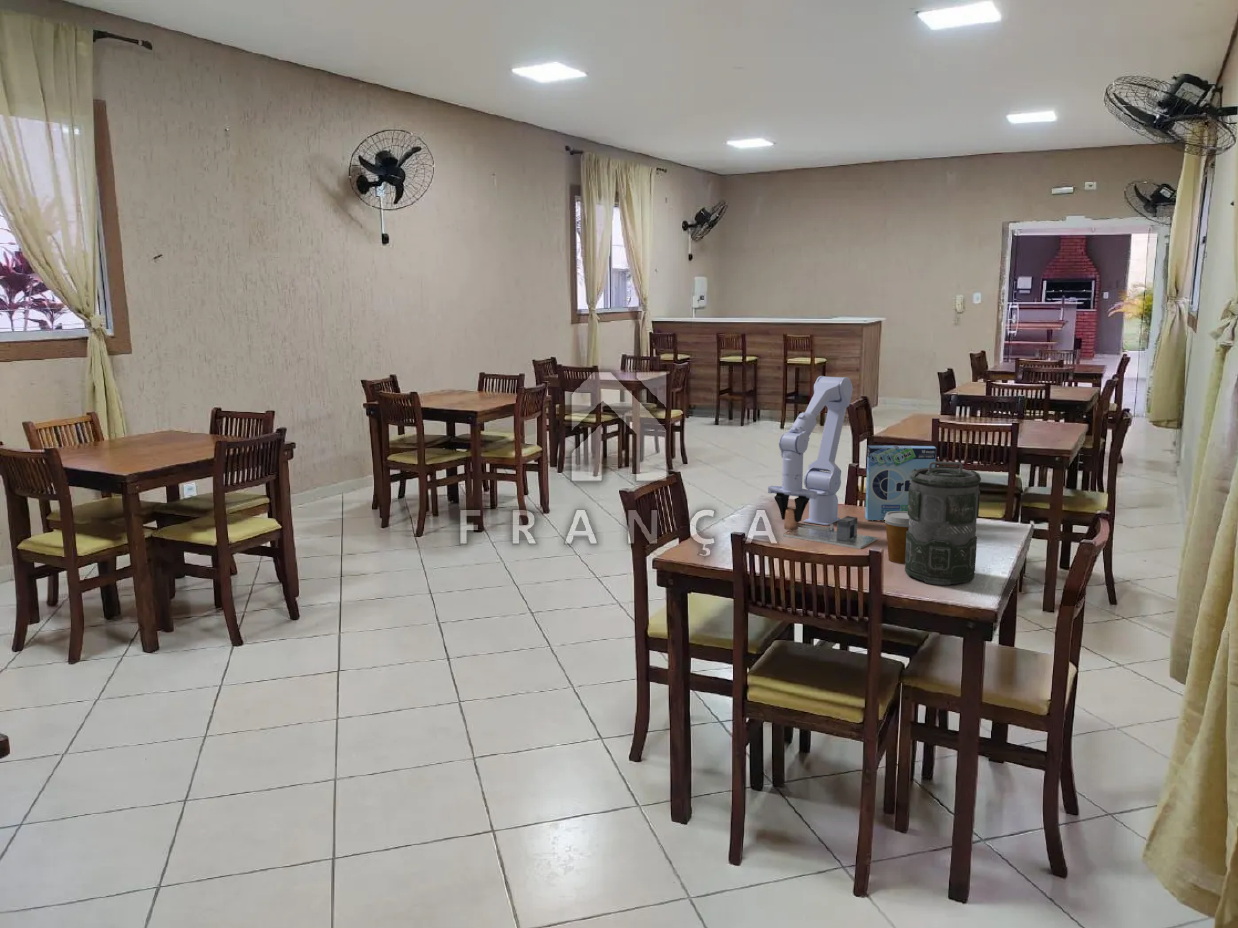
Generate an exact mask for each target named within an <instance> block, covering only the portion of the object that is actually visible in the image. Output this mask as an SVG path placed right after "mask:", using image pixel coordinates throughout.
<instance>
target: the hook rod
mask: <svg viewBox="0 0 1238 928" xmlns="http://www.w3.org/2000/svg"><path fill="white" fill-rule="evenodd" d="M783 522H784V523H783V529H784V530H787V531H791V530H798V527H801V528H808V529H814V530H820V531H827V532H834V531H835V524H834V523H832V524H830V525H829V527H828V526H827V527H826V526H823V525H822V526H821V525H817V524H815V525H814V524H809V523H804V522H803V523H801V522H796V506H788V507H785V517H784V520H783Z"/></svg>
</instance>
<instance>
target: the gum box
mask: <svg viewBox="0 0 1238 928" xmlns="http://www.w3.org/2000/svg"><path fill="white" fill-rule="evenodd" d="M930 462H937V447H936V446H934V445H884V444H883V445H881V444H880V445H877V444H874V445H872V444H868V445H867V460H866V464H867V465H866V488H865V511H864V512H865V513H864V518H865V520H866V519H867V520H872V521H871V522H874V521H873V520H884V517H885V516H886V513H887V512H891V511H908V493H909V487H910V486H911V480H912V479H911V478H910V472H911V471H912V470H913V469H916V470H917V469H921V468H929V464H930ZM935 466H936V464H932V468H933V467H935ZM867 520H866V521H867Z"/></svg>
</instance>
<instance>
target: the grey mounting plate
mask: <svg viewBox="0 0 1238 928" xmlns="http://www.w3.org/2000/svg"><path fill="white" fill-rule="evenodd" d="M782 537H786V538H792V539H799V540H805V541H811V542H816V543H823V544H828V545H836V546H839V547H840V546H841V547H845V548H846V547H847V548H853V549H858V550H862V549H863V548H865V547H867V546H869V545H871V544H872V543H873V542H875V541H877V540H878V537H877V536H870V535H864V534H859V533H858V517H855V516H850V515H847V516H844V517H842V518H840V520H838V521H836V530H834V532H827V531H820V530H814V529H808V528H801V527H798V530H788V531H786V532H784V533H783V534H782Z"/></svg>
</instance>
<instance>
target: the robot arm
mask: <svg viewBox="0 0 1238 928" xmlns="http://www.w3.org/2000/svg"><path fill="white" fill-rule="evenodd" d="M853 390H854V387H853V384H852V381H851V379H850V377H848V376H845V377H841V376H838V377H837V376H824V375H820V376H818V377H817V378H816V381H815V383H814V384H813V395H812V397H811V399H810V401H809V404H807V405H808V406H807V407H806V410H805V411H804V412H800V413H799V414H798V416H797V417H796V419H795V420H794V422H793V424H792V425H791V427H790V429H789V430H788V431H787V432H785V433H782V434H781V436H780V438H779V442H778V447H779V450H780V456H781V458H782V477H781V478H782V479H781V486H779V485H778V486H777V485H770V486H768V487H767V494H776V495H775V496H774V501H775V502H776V504H777V506H778V508H779V513H780V517H781V520H782V521H784V517H785V507H789V499H790V496H792V497H796V498H794V504H795V506H794V507H796V522H798V523H800V522H801V521H802V519H803V514H804V512H805V509H806V507H807V505H809V507H808V508H809V510H808V518H806V519H804V520H803V523H807V524H809V523H810V524H815V525H820V526H821V525H822V526H830V524H834V523H837V521H838V520H840V519H841V517H838V516H839V515H838V511H839V508H838V507H839V499H838V495H837V492H839V489H840V488H841V485H842V478H841V477H842V470H841V468H840V467H839V466H838V465H837V464H836V462H835V461H836V459H837V453H838V448H839V443H840V440H841V439H840V438H841V435H842V430H843V425H844V420H845V418H846V417H845V416H846V410H847V408H848V407H850V406H851V405H850V404H851V401H852V396H853ZM825 407H826V408H827V413H826V418H825V422H824V426H823V432H822V435H821V439H820V440H821V441H820V445H819V449H818V450H819V451H818V456H817V459H815V460H814V461H813V462H810V464H809V465H808V468H807V470H806V472H805V474H803V472H804V453H806V451H807V450H808V446H809V441H810V436H811V434H812V433H813V432H814V431H813V430H814V429H815V428H816V426H817V423H818V422H817V421H818V420H817V419H816V418H817V417H818V416H819V415H820V413H821V411H822V410H823V409H824V408H825ZM803 475H804V476H803ZM803 485H804V488H803Z"/></svg>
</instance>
